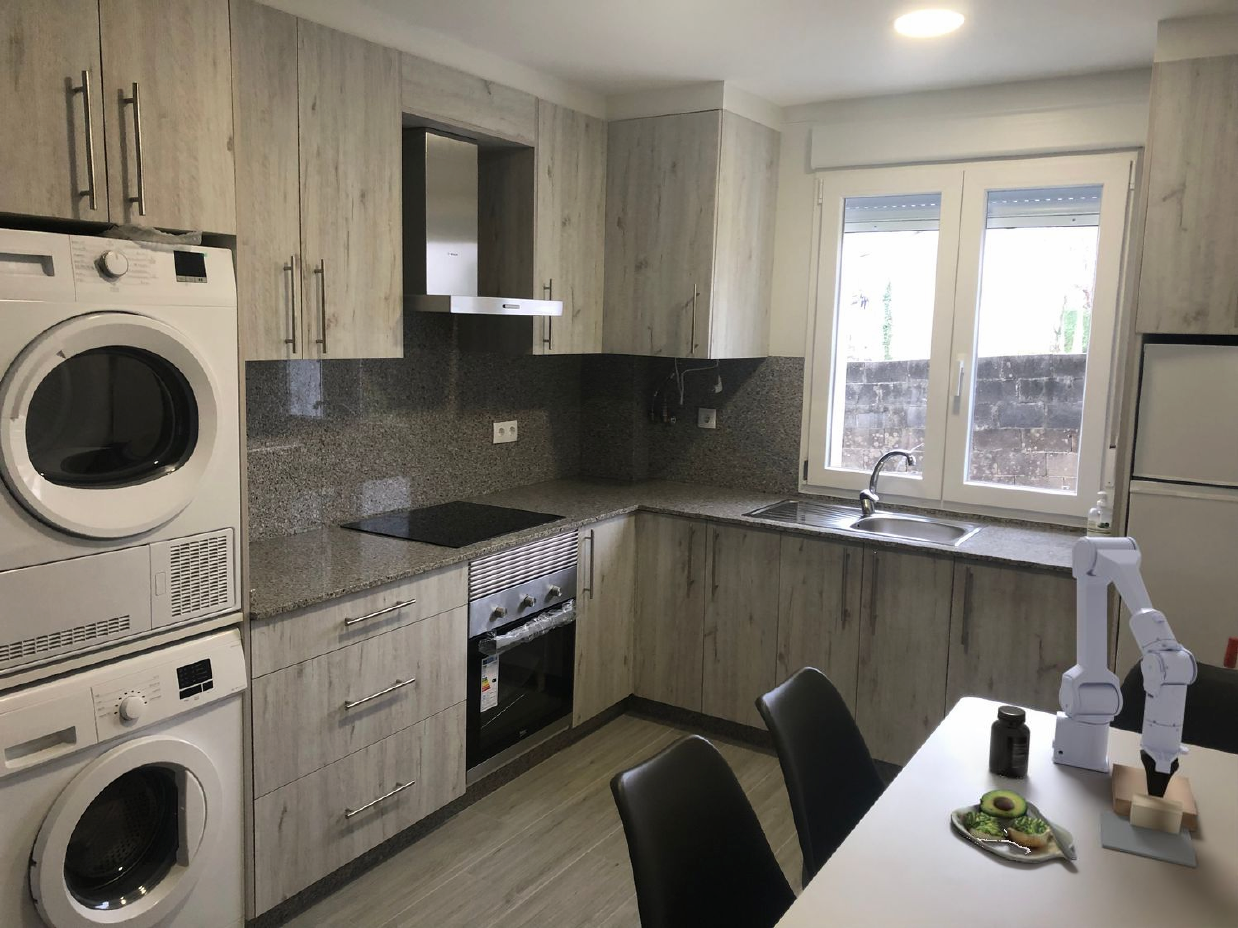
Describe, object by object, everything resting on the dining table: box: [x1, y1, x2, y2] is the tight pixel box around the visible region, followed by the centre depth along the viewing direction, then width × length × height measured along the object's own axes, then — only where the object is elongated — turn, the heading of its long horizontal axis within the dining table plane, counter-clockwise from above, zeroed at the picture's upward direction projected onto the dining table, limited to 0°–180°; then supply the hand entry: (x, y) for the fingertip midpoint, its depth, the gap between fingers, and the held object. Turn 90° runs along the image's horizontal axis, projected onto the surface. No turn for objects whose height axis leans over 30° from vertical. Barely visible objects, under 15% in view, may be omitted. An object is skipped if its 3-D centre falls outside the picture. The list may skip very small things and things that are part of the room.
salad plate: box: [950, 789, 1078, 864], centre depth 155 cm, size 19×18×5 cm
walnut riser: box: [1111, 763, 1198, 832], centre depth 167 cm, size 12×15×3 cm
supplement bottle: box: [988, 705, 1031, 780], centre depth 178 cm, size 7×7×12 cm
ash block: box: [1130, 792, 1182, 835], centre depth 158 cm, size 7×5×2 cm
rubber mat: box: [1100, 810, 1197, 868], centre depth 155 cm, size 13×12×1 cm
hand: (1155, 795), depth 162 cm, fingers closed
